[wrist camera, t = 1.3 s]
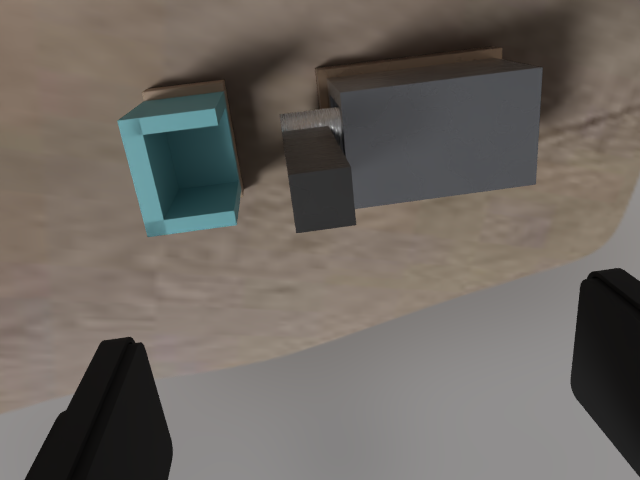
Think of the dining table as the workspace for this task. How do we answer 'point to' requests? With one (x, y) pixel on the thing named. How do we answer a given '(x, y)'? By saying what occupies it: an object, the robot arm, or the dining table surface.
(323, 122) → the tube
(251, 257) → the dining table surface
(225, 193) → the far socket
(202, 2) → the dining table surface
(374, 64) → the tube sleeve
